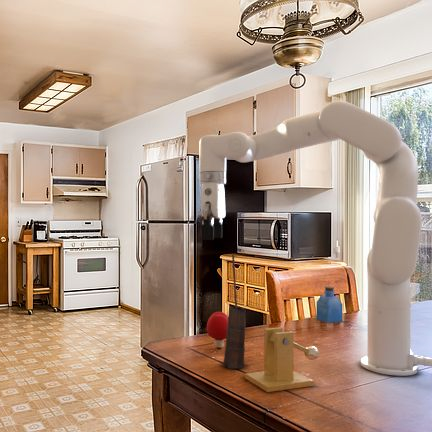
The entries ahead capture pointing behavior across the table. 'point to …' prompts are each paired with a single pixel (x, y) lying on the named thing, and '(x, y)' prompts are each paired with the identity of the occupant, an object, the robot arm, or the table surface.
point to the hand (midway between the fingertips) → (212, 238)
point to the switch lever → (302, 348)
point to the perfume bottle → (329, 307)
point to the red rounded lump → (218, 328)
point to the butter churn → (235, 334)
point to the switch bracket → (278, 364)
